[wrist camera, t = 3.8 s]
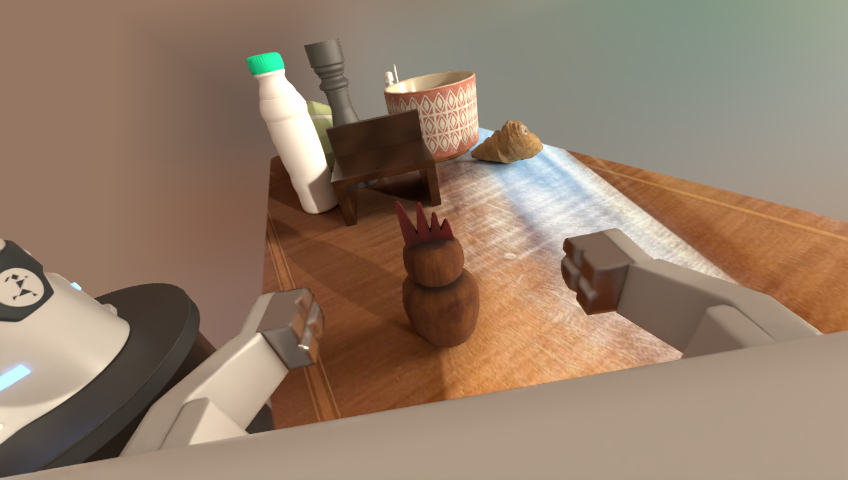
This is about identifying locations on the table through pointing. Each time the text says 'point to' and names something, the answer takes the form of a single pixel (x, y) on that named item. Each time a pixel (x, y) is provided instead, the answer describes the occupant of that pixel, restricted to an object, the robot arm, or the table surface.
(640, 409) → the robot arm
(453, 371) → the table surface
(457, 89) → the planter
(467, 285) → the wooden figurine
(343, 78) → the candle holder
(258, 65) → the water bottle
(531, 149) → the seashell
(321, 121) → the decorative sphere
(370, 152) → the miniature wooden bench
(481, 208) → the table surface
